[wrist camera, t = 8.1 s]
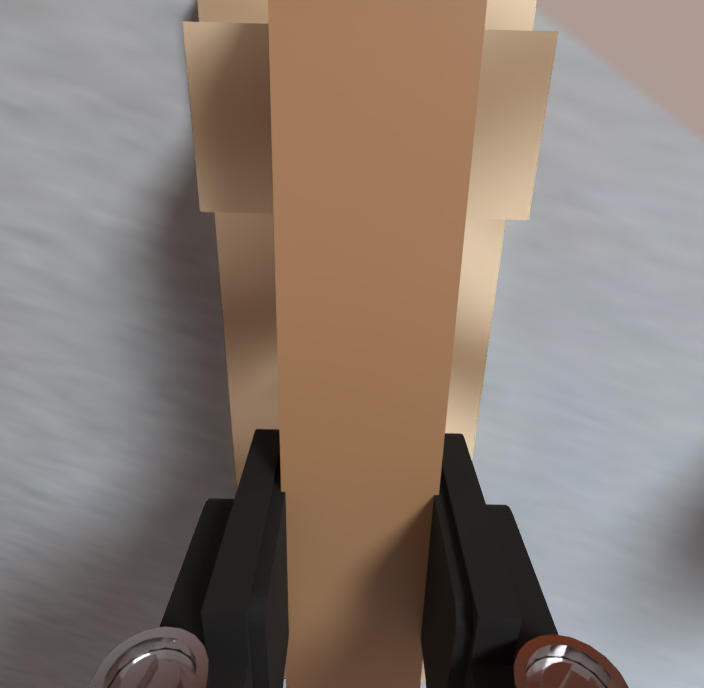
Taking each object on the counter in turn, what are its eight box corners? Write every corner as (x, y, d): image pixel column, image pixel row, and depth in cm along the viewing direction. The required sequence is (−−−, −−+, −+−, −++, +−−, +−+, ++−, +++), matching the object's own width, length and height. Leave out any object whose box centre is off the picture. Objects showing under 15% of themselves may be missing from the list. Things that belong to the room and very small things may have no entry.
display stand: (451, 558, 21) (483, 716, 16) (248, 553, 21) (211, 711, 16) (526, -10, 13) (644, -84, 8) (205, -19, 13) (104, -98, 8)
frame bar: (287, -59, 8) (251, -166, 5) (458, -54, 8) (514, -158, 5) (299, 738, 15) (286, 886, 12) (395, 739, 15) (405, 887, 12)
